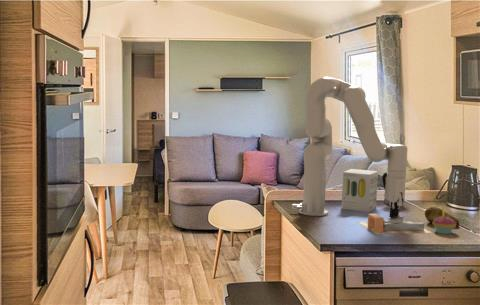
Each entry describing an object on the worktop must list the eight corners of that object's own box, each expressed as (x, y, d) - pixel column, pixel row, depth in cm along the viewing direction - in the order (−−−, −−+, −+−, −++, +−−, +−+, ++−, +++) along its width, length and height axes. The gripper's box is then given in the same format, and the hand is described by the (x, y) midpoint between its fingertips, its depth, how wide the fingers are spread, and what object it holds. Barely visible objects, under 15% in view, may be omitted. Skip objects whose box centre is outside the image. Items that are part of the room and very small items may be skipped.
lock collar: (375, 232, 204) (376, 218, 204) (367, 227, 212) (368, 213, 211) (382, 232, 205) (383, 218, 204) (374, 227, 212) (375, 213, 212)
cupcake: (428, 232, 212) (430, 201, 211) (448, 232, 213) (451, 202, 212) (437, 237, 204) (439, 206, 202) (459, 238, 204) (461, 206, 203)
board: (375, 236, 203) (375, 233, 203) (357, 225, 221) (357, 222, 220) (432, 235, 207) (432, 232, 206) (410, 224, 224) (410, 221, 224)
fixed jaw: (382, 231, 206) (383, 222, 206) (378, 228, 210) (379, 219, 210) (424, 230, 209) (424, 221, 209) (419, 228, 213) (419, 219, 213)
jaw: (386, 228, 210) (386, 221, 210) (381, 227, 212) (382, 220, 211) (402, 222, 221) (403, 216, 220) (398, 222, 222) (399, 215, 222)
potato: (451, 232, 212) (453, 212, 212) (421, 226, 222) (422, 207, 221) (460, 229, 218) (462, 209, 217) (430, 223, 227) (431, 204, 227)
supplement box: (340, 208, 251) (342, 171, 250) (349, 204, 263) (351, 168, 261) (368, 212, 245) (370, 174, 243) (376, 207, 257) (378, 171, 255)
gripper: (380, 171, 231) (378, 213, 233) (395, 177, 216) (393, 222, 218) (396, 171, 232) (394, 213, 234) (413, 177, 218) (410, 221, 220)
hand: (393, 217), depth 226 cm, fingers closed
